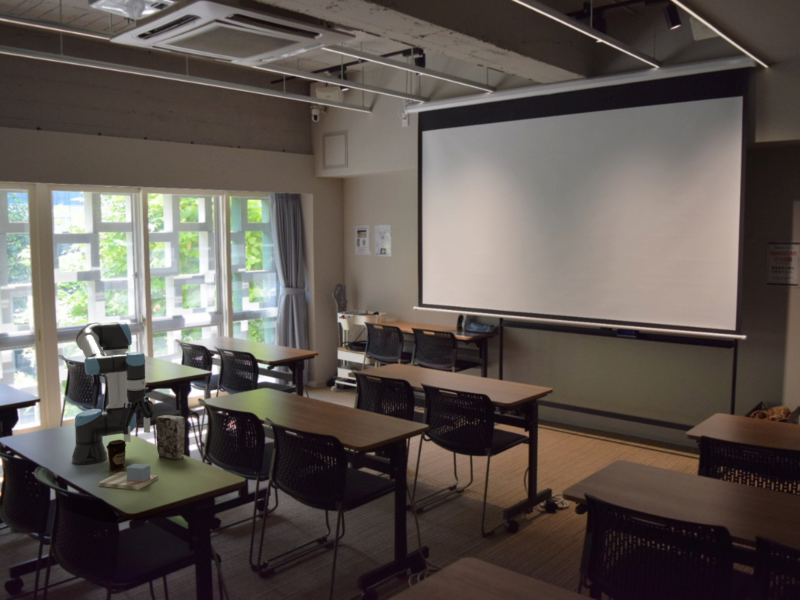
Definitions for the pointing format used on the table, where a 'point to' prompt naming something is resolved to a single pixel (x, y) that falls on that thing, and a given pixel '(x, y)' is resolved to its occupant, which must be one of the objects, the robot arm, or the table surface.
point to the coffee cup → (116, 455)
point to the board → (125, 481)
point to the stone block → (170, 436)
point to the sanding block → (138, 473)
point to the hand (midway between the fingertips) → (137, 436)
